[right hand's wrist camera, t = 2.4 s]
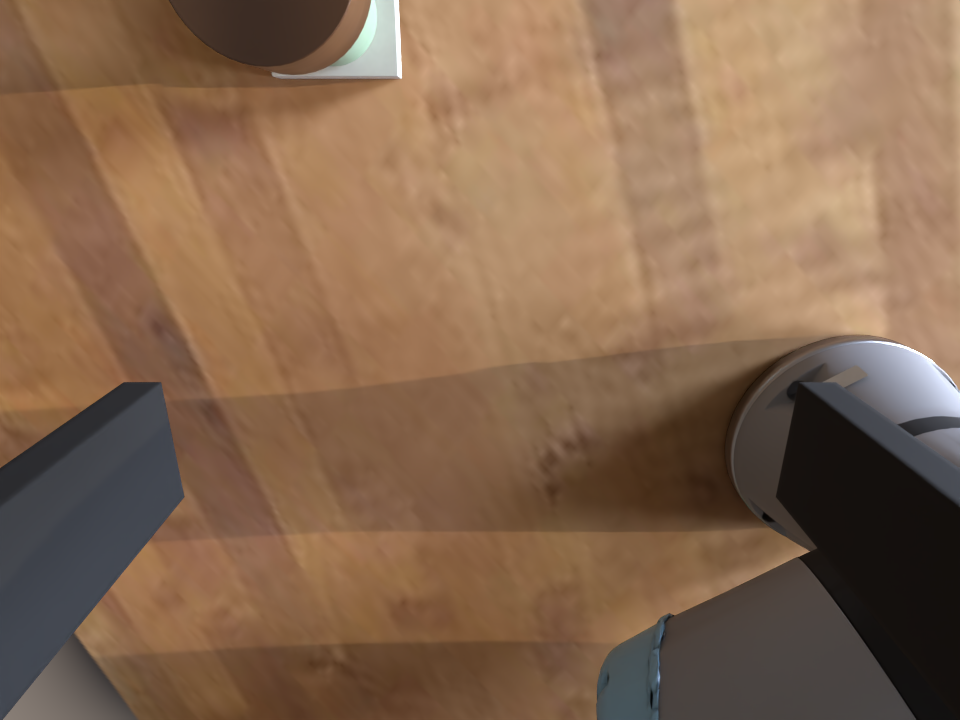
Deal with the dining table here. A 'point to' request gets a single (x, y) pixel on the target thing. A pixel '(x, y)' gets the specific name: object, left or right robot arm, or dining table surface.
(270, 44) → the brown cylinder
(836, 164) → the dining table surface
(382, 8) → the jar stand
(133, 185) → the dining table surface
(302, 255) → the dining table surface
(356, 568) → the dining table surface
